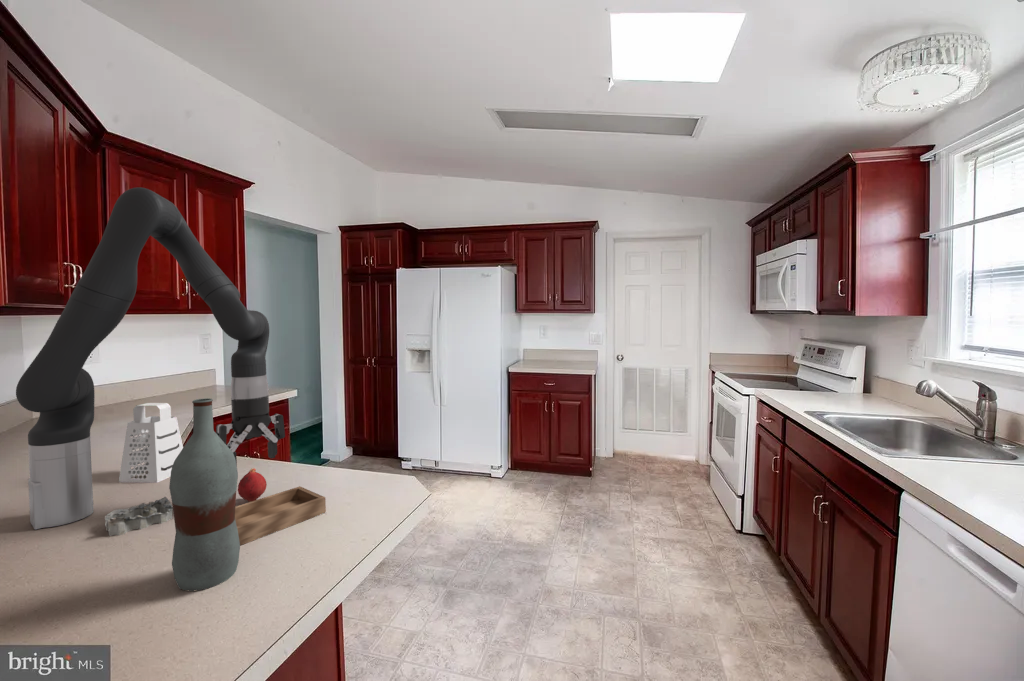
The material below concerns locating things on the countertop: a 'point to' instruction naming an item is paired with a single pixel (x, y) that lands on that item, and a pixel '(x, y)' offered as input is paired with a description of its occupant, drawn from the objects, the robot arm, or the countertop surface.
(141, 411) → the grater
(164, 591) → the countertop surface
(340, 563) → the countertop surface
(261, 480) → the onion
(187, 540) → the bottle
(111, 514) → the egg carton
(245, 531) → the wooden tray
